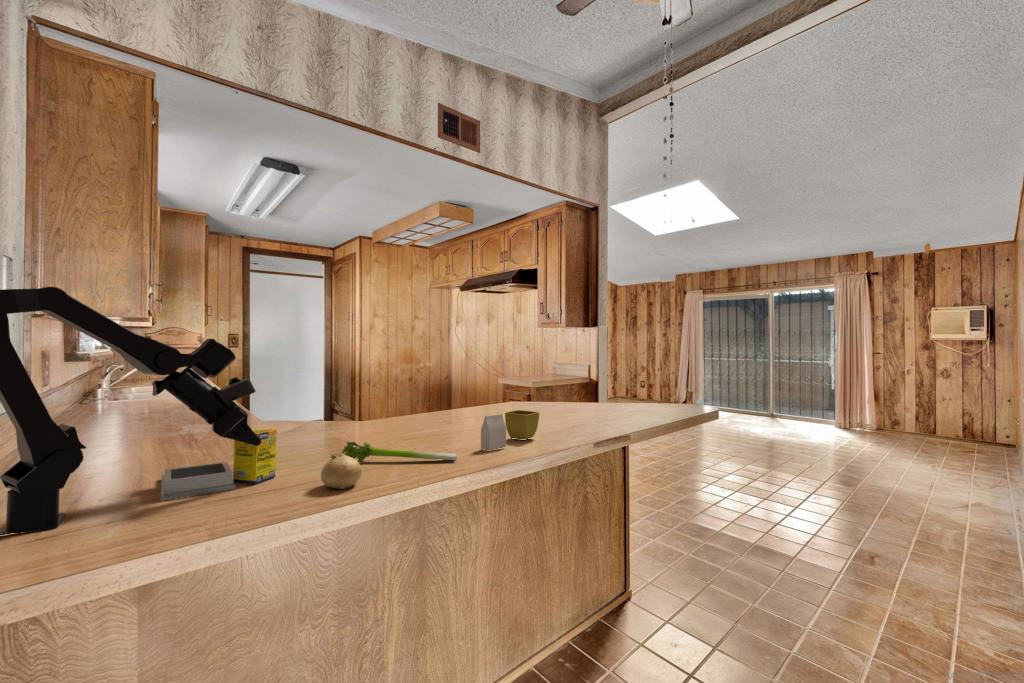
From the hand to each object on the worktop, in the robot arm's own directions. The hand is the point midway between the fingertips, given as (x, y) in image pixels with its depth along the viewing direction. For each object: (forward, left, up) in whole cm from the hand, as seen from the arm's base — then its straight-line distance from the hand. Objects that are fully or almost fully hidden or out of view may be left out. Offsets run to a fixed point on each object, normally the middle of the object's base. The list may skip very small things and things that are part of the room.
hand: (256, 440), depth 97 cm
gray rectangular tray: (+4, +10, -9) cm, 14 cm away
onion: (-16, -14, -9) cm, 23 cm away
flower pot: (0, -77, -9) cm, 77 cm away
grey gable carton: (-6, -61, -9) cm, 62 cm away
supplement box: (0, 0, -9) cm, 9 cm away
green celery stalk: (-3, -32, -9) cm, 34 cm away
